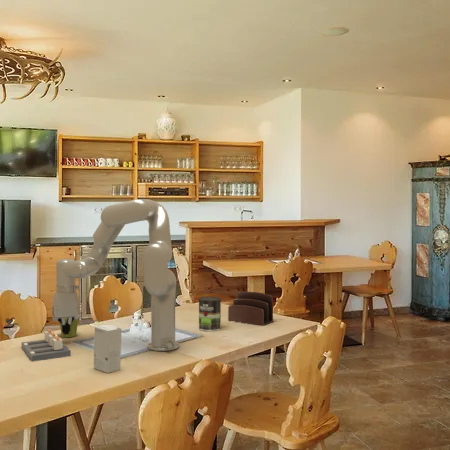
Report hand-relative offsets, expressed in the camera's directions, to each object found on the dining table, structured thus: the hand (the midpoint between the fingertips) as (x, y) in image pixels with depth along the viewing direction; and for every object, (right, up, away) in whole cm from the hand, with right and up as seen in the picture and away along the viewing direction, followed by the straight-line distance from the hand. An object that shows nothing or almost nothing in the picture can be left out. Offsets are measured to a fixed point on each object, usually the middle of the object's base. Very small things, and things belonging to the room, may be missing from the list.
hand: (65, 333), depth 218 cm
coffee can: (+58, -3, +26) cm, 64 cm away
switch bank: (-5, -5, -11) cm, 13 cm away
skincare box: (+24, -6, -33) cm, 42 cm away
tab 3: (+1, -2, -16) cm, 16 cm away
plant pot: (-3, -4, +13) cm, 14 cm away
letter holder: (+78, -3, +41) cm, 88 cm away
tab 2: (-2, -2, -10) cm, 10 cm away
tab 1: (-6, -2, -4) cm, 7 cm away
